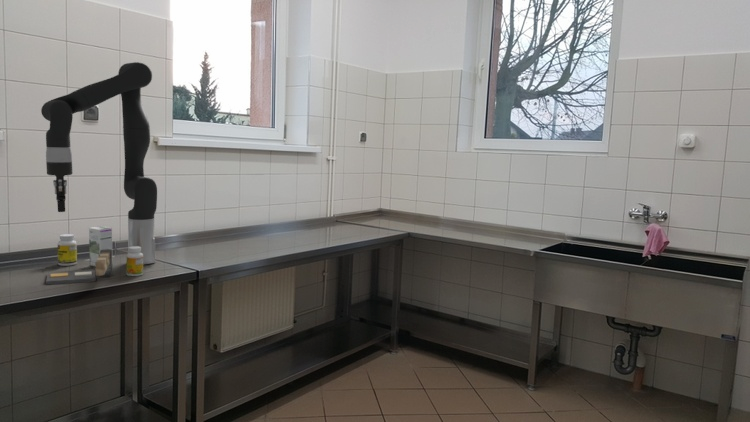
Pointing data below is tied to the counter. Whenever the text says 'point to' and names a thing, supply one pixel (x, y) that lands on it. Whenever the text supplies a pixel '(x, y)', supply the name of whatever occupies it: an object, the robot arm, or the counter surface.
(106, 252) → the tan wooden bar
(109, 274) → the pivot post
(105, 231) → the syrup box
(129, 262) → the supplement bottle
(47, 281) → the label mat
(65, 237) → the pill bottle
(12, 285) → the counter surface
